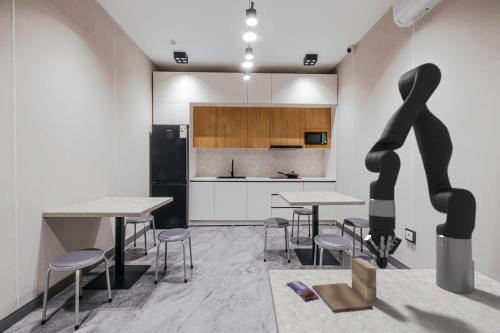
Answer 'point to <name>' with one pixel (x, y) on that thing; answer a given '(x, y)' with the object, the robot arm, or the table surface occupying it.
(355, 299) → the walnut board
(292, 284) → the snack package
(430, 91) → the robot arm
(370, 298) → the wooden block
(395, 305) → the table surface
